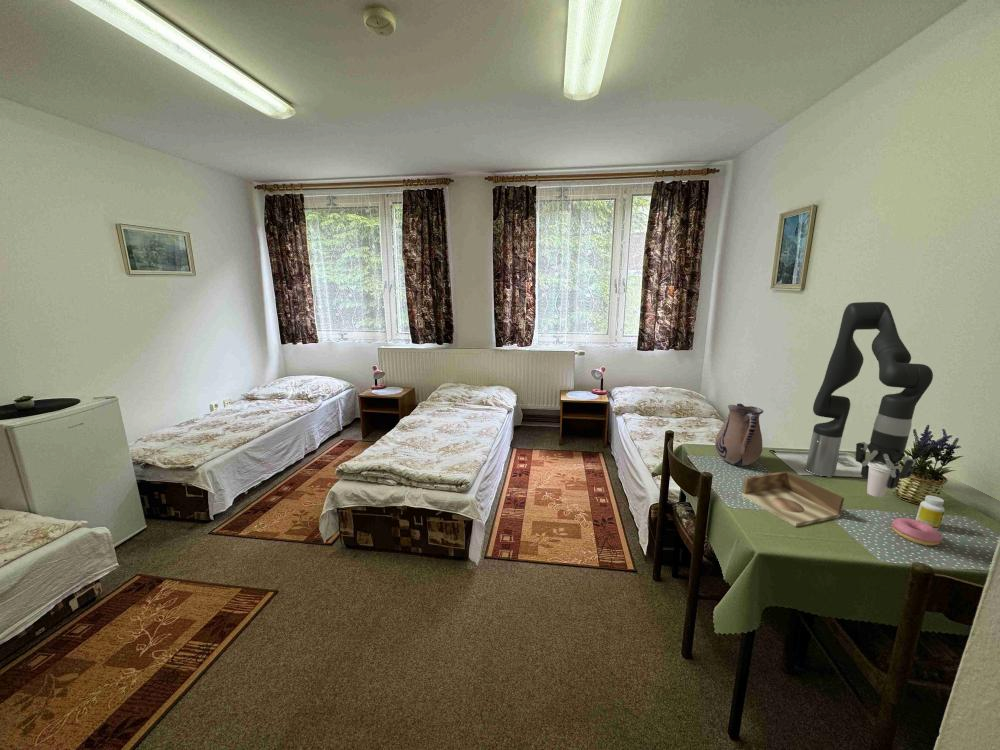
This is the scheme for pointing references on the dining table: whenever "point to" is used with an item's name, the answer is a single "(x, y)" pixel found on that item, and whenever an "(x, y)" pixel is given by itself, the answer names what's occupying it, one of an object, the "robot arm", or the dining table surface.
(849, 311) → the robot arm
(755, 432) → the ceramic pitcher
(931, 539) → the doughnut
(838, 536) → the dining table surface
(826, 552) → the dining table surface
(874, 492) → the smoothie
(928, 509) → the supplement bottle
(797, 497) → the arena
